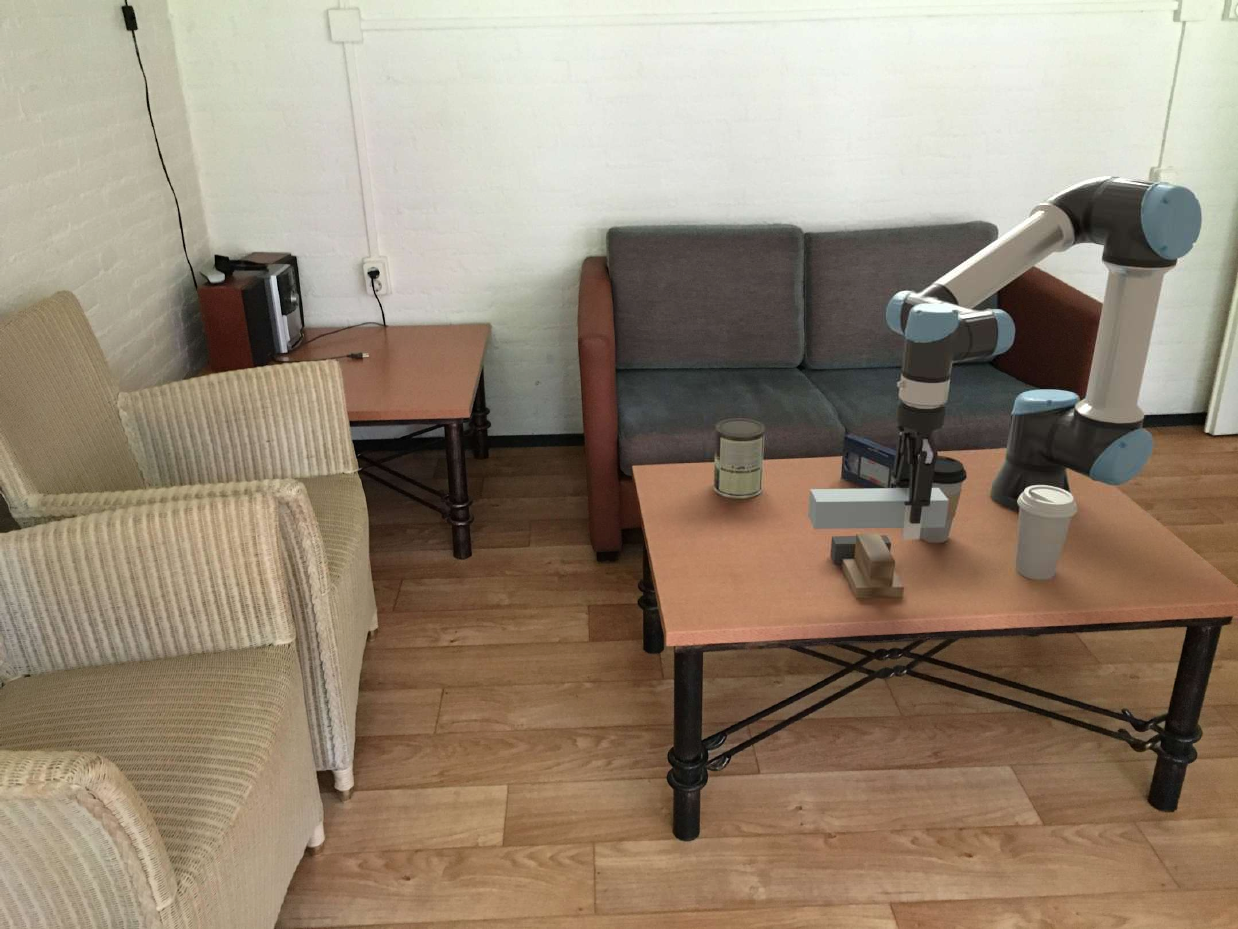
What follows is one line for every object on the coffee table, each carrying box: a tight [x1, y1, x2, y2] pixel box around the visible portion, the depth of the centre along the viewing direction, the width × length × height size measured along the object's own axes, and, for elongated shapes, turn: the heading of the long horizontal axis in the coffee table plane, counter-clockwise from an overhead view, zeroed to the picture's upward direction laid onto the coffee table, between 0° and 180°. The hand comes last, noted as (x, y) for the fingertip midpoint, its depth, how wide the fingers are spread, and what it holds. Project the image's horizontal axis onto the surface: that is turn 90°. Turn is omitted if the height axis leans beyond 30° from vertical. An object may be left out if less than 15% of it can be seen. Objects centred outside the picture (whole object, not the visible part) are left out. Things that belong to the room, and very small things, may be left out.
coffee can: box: [713, 417, 766, 500], centre depth 204 cm, size 10×10×14 cm
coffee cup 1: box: [919, 455, 968, 544], centre depth 184 cm, size 9×9×15 cm
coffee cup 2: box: [1015, 485, 1078, 581], centre depth 171 cm, size 10×10×15 cm
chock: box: [829, 534, 892, 565], centre depth 178 cm, size 10×3×4 cm, turn 91°
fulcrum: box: [841, 533, 905, 599], centre depth 169 cm, size 8×10×7 cm
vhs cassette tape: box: [840, 433, 909, 489], centre depth 204 cm, size 18×3×10 cm, turn 33°
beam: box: [807, 488, 949, 530], centre depth 165 cm, size 22×5×5 cm, turn 92°
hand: (905, 530), depth 167 cm, fingers closed on beam, 5 cm apart
